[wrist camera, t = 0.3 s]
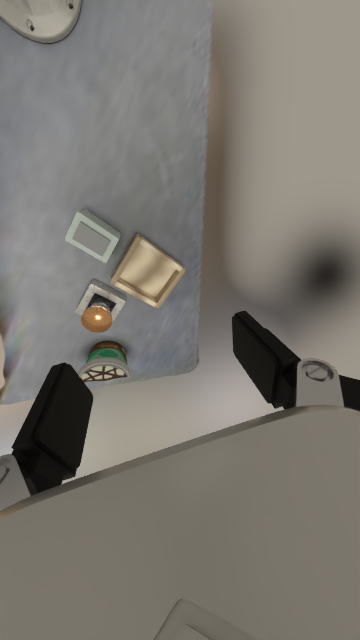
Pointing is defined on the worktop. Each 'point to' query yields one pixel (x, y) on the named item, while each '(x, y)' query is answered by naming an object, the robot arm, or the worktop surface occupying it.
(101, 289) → the plunger base
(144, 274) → the bay
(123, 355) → the food container
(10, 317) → the worktop surface
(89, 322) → the plunger
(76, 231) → the pale green box
